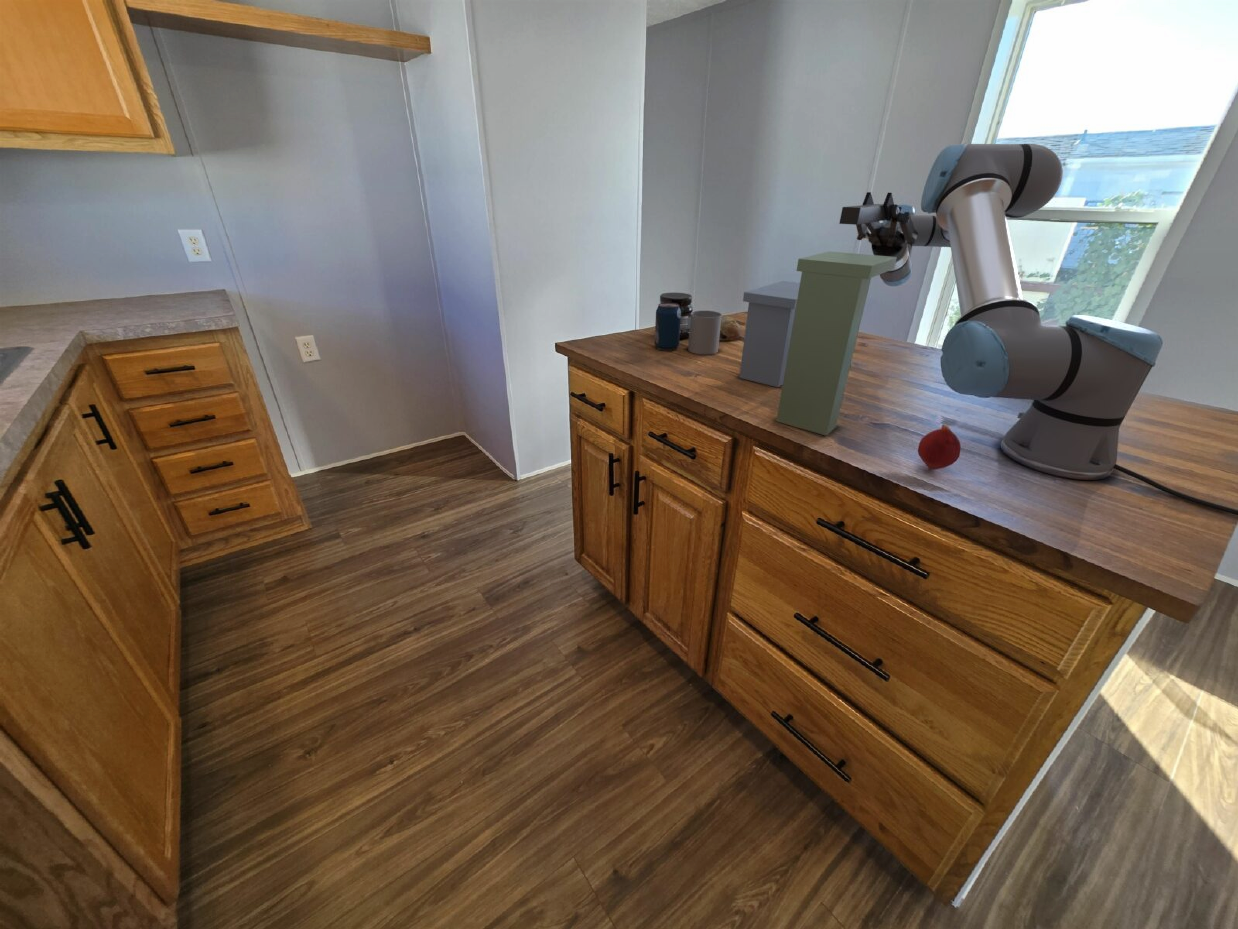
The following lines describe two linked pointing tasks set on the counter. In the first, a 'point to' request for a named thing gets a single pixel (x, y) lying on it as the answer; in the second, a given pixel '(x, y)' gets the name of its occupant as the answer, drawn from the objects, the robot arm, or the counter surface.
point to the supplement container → (685, 307)
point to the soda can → (667, 326)
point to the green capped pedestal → (825, 336)
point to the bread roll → (729, 329)
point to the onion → (939, 448)
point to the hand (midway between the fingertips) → (876, 198)
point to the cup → (704, 332)
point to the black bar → (862, 214)
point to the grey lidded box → (768, 332)
